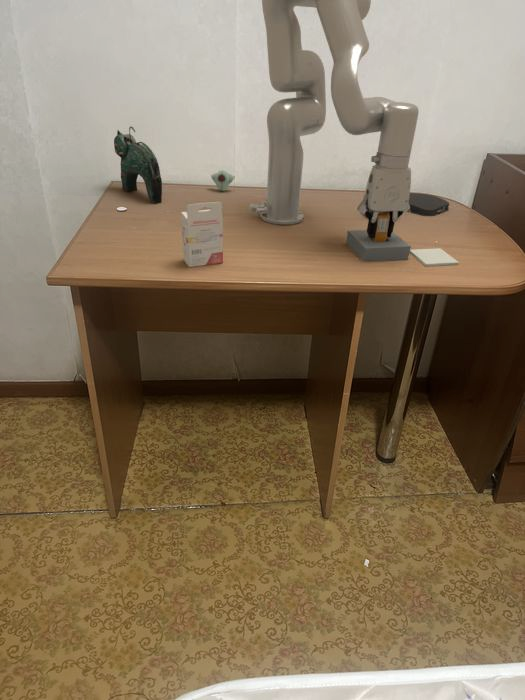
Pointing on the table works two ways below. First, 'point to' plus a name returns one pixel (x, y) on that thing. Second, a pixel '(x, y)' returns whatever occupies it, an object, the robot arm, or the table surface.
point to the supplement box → (381, 227)
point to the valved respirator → (222, 179)
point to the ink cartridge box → (202, 234)
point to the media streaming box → (427, 204)
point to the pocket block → (377, 247)
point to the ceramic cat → (138, 166)
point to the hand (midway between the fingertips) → (379, 235)
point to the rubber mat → (433, 257)
